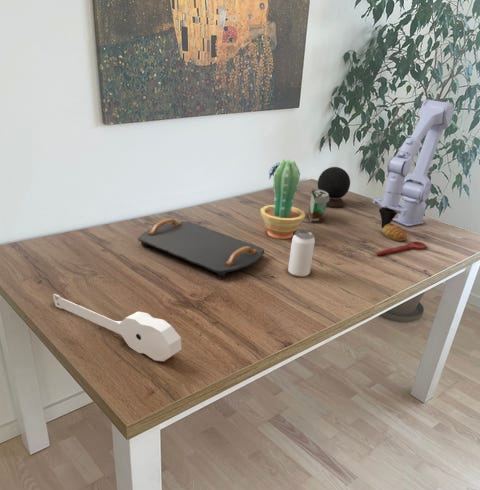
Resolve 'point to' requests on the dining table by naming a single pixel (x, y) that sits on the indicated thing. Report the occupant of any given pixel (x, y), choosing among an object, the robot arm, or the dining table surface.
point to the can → (301, 253)
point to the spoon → (403, 248)
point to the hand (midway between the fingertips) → (384, 228)
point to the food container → (317, 205)
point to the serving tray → (202, 246)
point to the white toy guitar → (134, 330)
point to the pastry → (394, 232)
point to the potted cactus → (283, 201)
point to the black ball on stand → (334, 185)
